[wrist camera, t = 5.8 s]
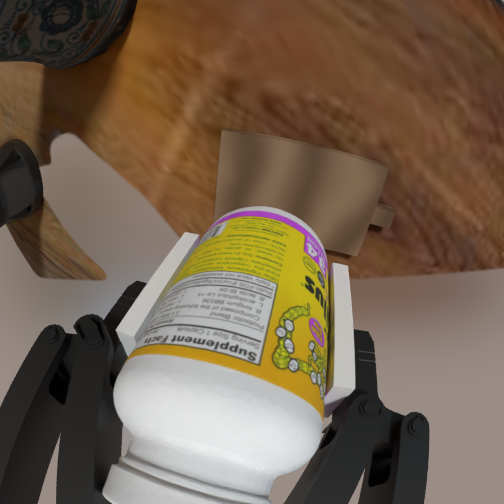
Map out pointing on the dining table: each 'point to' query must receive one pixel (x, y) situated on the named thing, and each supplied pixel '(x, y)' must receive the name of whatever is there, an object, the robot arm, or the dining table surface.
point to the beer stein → (60, 29)
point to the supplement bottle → (228, 368)
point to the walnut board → (303, 186)
